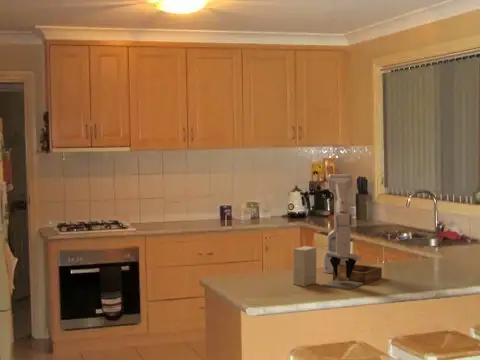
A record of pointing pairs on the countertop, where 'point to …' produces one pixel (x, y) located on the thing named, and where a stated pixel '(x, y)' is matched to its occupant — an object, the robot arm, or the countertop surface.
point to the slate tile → (342, 284)
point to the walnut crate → (364, 274)
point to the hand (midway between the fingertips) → (342, 276)
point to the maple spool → (342, 273)
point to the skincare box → (304, 266)
